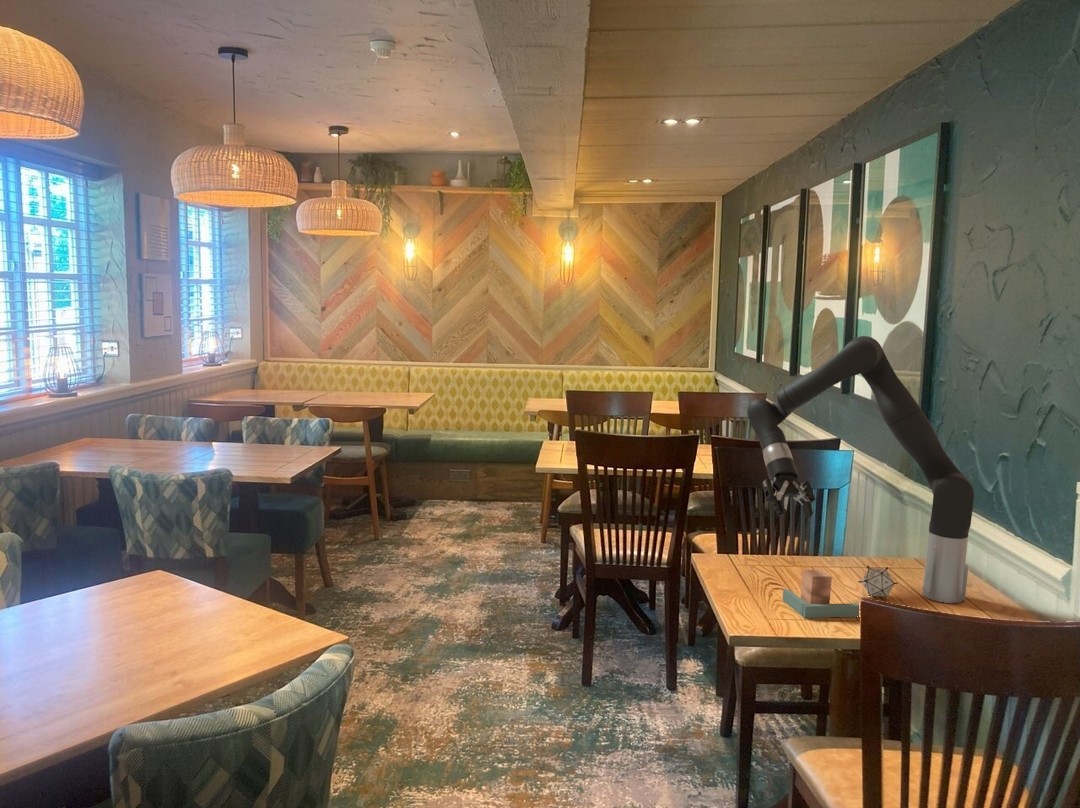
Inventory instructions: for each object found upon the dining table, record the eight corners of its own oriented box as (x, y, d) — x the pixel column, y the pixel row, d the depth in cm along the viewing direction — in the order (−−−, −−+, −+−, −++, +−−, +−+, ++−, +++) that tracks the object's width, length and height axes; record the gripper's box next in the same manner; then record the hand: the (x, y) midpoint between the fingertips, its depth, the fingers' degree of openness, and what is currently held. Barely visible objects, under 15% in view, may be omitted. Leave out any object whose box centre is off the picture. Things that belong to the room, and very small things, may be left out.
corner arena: (840, 600, 204) (841, 588, 203) (866, 617, 192) (867, 605, 192) (782, 600, 201) (783, 589, 201) (804, 618, 190) (805, 606, 189)
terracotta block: (818, 604, 199) (821, 569, 198) (828, 612, 194) (831, 576, 193) (800, 604, 198) (803, 569, 197) (809, 612, 193) (812, 576, 192)
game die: (880, 613, 206) (890, 592, 199) (849, 594, 210) (858, 573, 203) (896, 591, 210) (906, 569, 203) (866, 573, 215) (875, 551, 208)
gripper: (764, 454, 214) (780, 508, 205) (808, 458, 218) (826, 511, 209) (750, 467, 220) (765, 521, 211) (793, 471, 224) (810, 523, 215)
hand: (795, 516), depth 210 cm, fingers open, 8 cm apart
